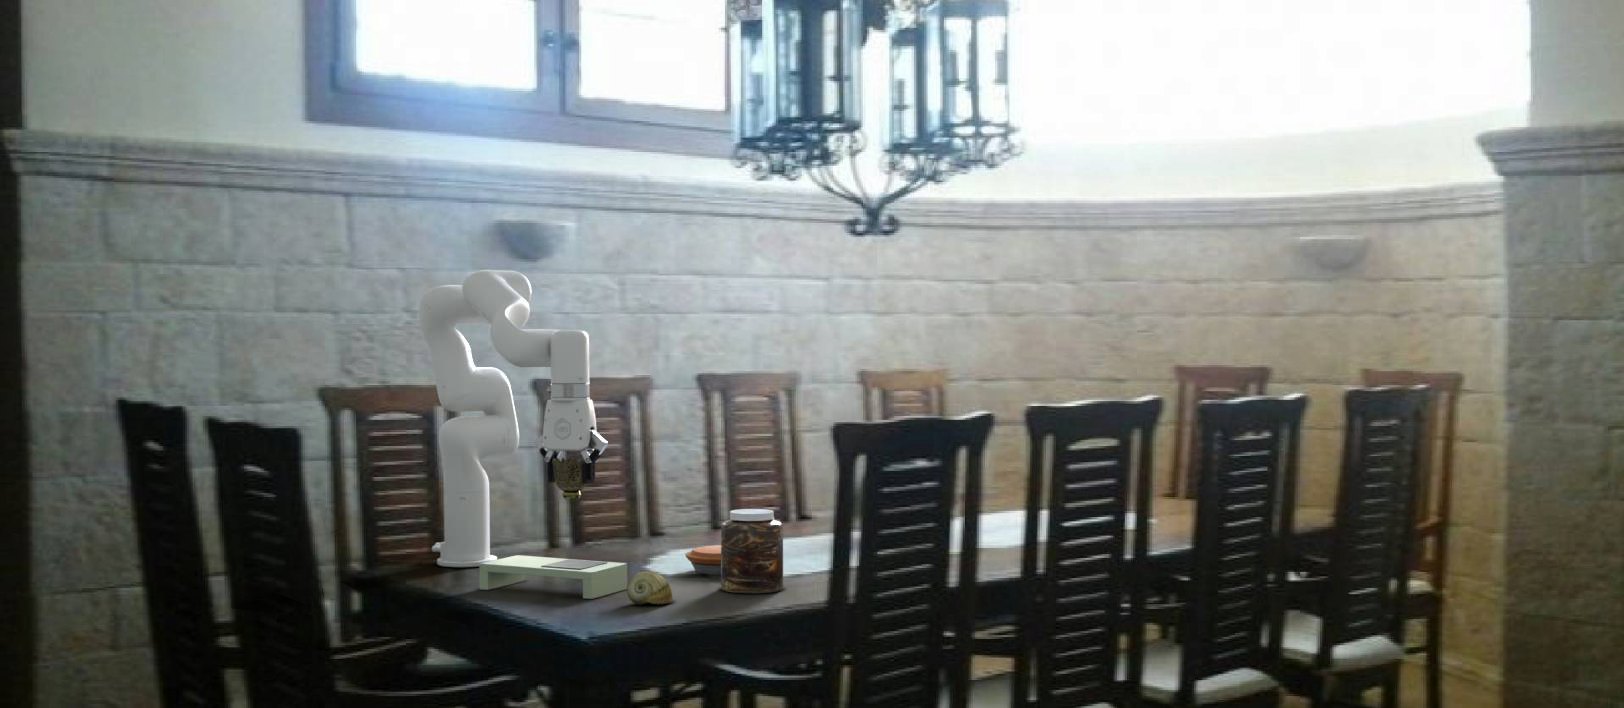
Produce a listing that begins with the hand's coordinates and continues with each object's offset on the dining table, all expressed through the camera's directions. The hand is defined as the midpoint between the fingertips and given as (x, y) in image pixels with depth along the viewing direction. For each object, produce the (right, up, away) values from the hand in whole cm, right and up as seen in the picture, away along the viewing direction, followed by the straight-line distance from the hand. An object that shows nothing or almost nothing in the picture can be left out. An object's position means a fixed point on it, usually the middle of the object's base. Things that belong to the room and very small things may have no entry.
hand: (571, 481), depth 299 cm
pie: (+29, -20, +16) cm, 38 cm away
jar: (+36, -20, -7) cm, 42 cm away
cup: (0, -3, 0) cm, 3 cm away
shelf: (-3, -20, -6) cm, 21 cm away
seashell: (+18, -21, -21) cm, 34 cm away
